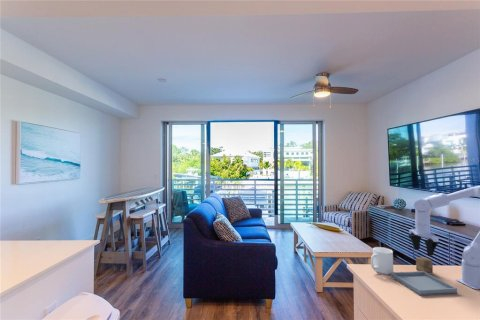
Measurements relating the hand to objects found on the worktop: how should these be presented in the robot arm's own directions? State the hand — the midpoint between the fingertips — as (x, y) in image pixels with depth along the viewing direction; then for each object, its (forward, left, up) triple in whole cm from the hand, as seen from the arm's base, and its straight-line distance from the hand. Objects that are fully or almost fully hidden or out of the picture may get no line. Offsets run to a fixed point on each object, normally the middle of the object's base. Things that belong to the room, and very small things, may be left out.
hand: (423, 252), depth 117 cm
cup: (+20, -3, -10) cm, 22 cm away
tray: (+11, +11, -9) cm, 18 cm away
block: (-1, -1, -10) cm, 10 cm away
